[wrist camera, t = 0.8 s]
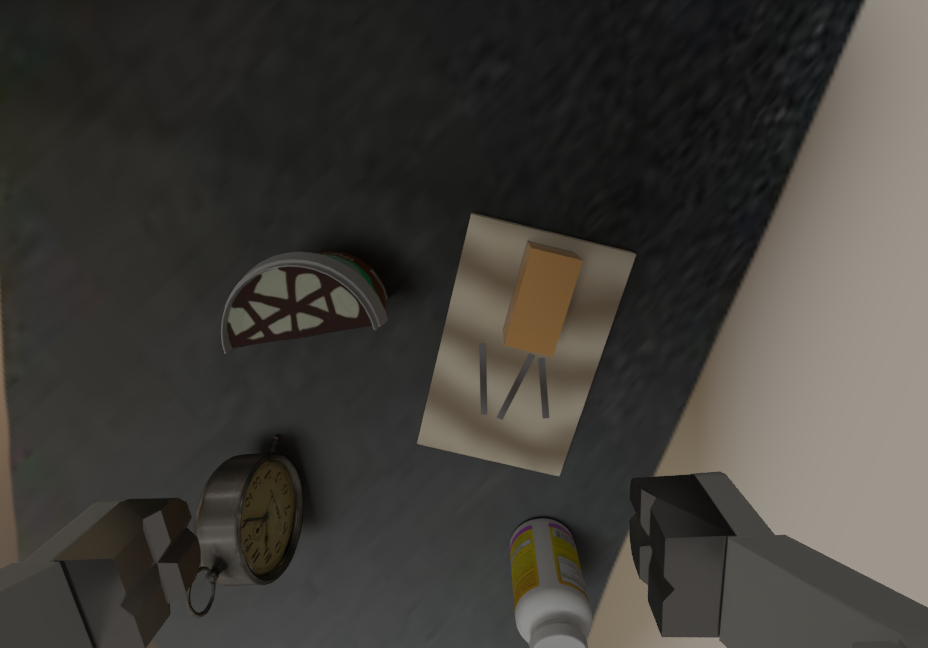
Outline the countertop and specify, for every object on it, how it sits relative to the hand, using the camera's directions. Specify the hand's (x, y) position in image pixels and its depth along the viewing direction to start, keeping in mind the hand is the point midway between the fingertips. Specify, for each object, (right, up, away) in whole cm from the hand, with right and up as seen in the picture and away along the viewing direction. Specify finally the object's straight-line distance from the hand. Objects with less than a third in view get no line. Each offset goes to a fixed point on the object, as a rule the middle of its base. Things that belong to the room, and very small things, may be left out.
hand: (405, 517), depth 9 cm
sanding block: (+7, +6, +33) cm, 34 cm away
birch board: (+6, +1, +36) cm, 37 cm away
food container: (-11, +8, +35) cm, 38 cm away
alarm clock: (-18, -12, +42) cm, 47 cm away
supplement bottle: (+9, -19, +43) cm, 48 cm away
